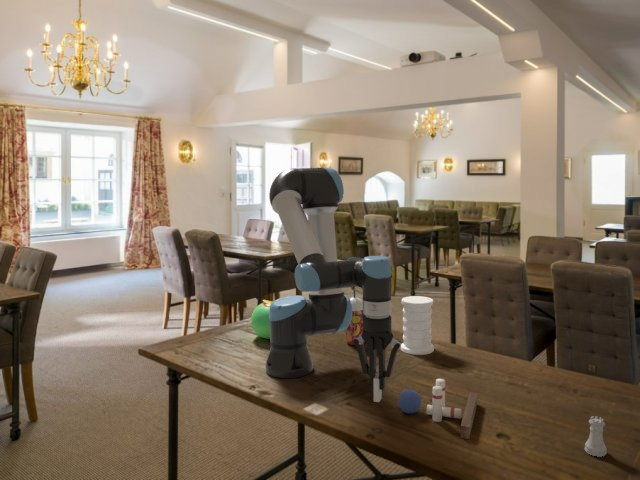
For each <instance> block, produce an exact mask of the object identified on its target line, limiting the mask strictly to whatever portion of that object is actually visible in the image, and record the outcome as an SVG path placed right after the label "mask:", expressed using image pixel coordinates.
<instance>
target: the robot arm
mask: <svg viewBox="0 0 640 480" xmlns="http://www.w3.org/2000/svg"><path fill="white" fill-rule="evenodd" d="M271 183H272V184H271V186H270V189H269V196H268V197H269V203H270V205H271V206H270V207H271V208H272V210H273V211H274V213H276V214H277V215H278V217H279V219H280V222H281V224H282V226H283V229H284V232H285V235H286V238H287V239H288V242H289V244H290V246H291V249H292V252H293V254H294V256H295V259H296V261H297V265H296V267H295V268H294V280H295V285H296V288H297V289H298V290H299V291H300V292H307V293H308V299H306V297H305V296H304V295H299V294H298V295H287V296H282V297H279V298H277V299H275V300H273V301H274V302H272V304H271V305H270V313H269V319H270V339H269V341H270V342H269V343H270V348H269V352H268V356H267V359H266V363H265V372H266V374H267V375H269V376H271V377H274V378H279V379H296V378H301V377H304V376H307V375H309V374H310V373H312V371H314V363H313V362H314V361H313V359H312V356H311V354H310V351H309V348H308V343H307V340H308V337H312V336H318V335H319V336H320V335H326V334H336V333H339V332H345V330H346V329H347V328H348V326H349V325H350V322H351V319H352V304H351V301H350V299H349V298H350V297H349V296H348V295H345V290H344V288H345V289H346V288H354V287H358V288H361V289H362V301H363V314H364V316H363V332H362V334H361V336H360V337H357V338H356V339H355V340H354V341H353V342H354V344H355V345H354V346H355V347H356V349H357V354H358V358H359V363H360V366H361V370H362V373H363V375H366V376H369V388H370V389H373V403H380V402H381V400H382V393H383V392H382V390H385V388H386V378H389V377H391V375H392V373H393V370H394V366H395V363H396V362H395V361H396V358H397V353H398V351H399V349H400V348H401V344H402V343H403V342H402V341H401V340H397V339H396V338H394V334H393V332H392V316H391V315H392V274H393V271H392V264H391V259H390V258H389V257H388V256H383V255H382V256H381V255H367V256H364V257H363V258H361V257H355V256H351V257H348V258H346V259H345V260H338V254H337V253H338V252H337V240H336V230H335V229H336V227H335V225H336V224H335V212H337V209H339V203H341V202H342V201H343V199H344V193H345V192H344V191H345V190H344V185H343V180H342V177H341V176H340V173H339V172H338V171H337V170H336V169H334V168H332V167H306V168H302V167H301V168H293V167H292V168H288V169H285V170H283V171H281V172H280V173H279V174H278V175H277V176H276V177H275V178H274V179H273V181H272V182H271ZM363 340H364V341H363ZM364 343H365V345H366V346H367V347H368V354H369V355H368V356H369V357H368V356H367V353H366V352H367V351H366V348H365V345H364ZM390 343H391V345H390ZM389 345H390V346H391V348H392V349H391V351H390V355H389V359H388V364H387V367H386V351H387V350H386V349H387V347H388V346H389ZM377 354H378V374H377ZM368 359H369V360H368Z"/></svg>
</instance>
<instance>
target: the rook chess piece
mask: <svg viewBox="0 0 640 480" xmlns="http://www.w3.org/2000/svg"><path fill="white" fill-rule="evenodd" d="M588 423H589V425H590V427H589V430H590V431H589V432H590V433H589V436H588V439H587V440H586V442H585V444H584V451H585V452H586V453H587V454H588V455H589V454H590V455H589V456H591V455H592V457H594V456H597V457H596V458H603V457H605V456H606V455H607V450H608V449H607V446H606V445H605V442H604V438H603V437H604V435H603V434H604V433H603V432H604V429H603V428H604V427H605V426H606V423H605V421H604V418H602V417H598V415H595V416H594V415H592V416H591V417H590V419H589V420H588ZM602 456H603V457H602Z"/></svg>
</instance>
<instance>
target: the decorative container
mask: <svg viewBox="0 0 640 480" xmlns="http://www.w3.org/2000/svg"><path fill="white" fill-rule="evenodd" d="M401 305H403V308H402V314H403V317H402V322H403V326H402V331H403V335H402V340H403V342H401V343H402V344H401V346H400V351H402V353H405V354H408V355H415V356H423V355H425V356H426V355H429V354H432V353H434V350H435V346H434V345H433V343H432V340H433V337H432V330H433V328H432V323H433V319H432V314H433V309H432V306H433V305H434V299H433V298H431V297H428V296H423V295H422V296H421V295H413V296H412V295H411V296H404V297H402V298H401Z"/></svg>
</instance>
